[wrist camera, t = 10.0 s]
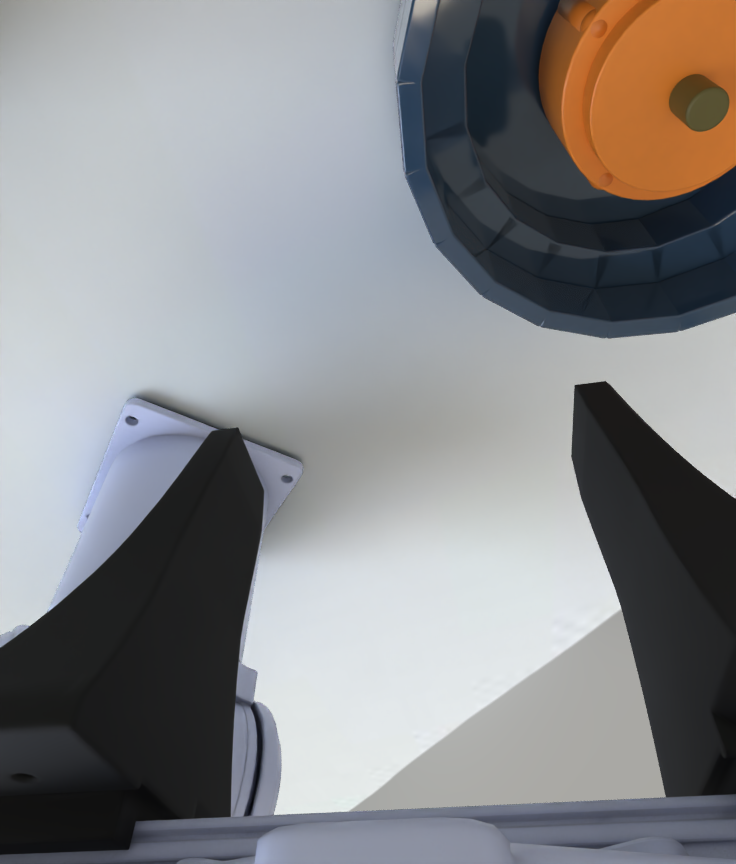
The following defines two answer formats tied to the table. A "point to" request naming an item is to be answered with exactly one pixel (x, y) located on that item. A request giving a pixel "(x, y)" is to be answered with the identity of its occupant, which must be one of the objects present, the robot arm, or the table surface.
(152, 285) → the table surface
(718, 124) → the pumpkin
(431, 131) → the bowl
